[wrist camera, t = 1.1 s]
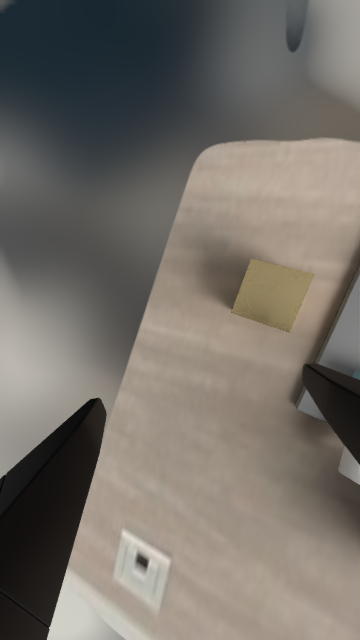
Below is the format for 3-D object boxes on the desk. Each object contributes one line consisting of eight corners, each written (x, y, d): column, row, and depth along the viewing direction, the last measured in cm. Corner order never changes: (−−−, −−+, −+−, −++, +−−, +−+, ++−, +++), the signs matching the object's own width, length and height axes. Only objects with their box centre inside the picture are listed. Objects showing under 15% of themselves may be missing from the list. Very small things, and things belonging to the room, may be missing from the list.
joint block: (296, 284, 21) (314, 274, 16) (278, 327, 22) (289, 332, 16) (250, 271, 23) (251, 258, 17) (235, 312, 23) (231, 312, 18)
